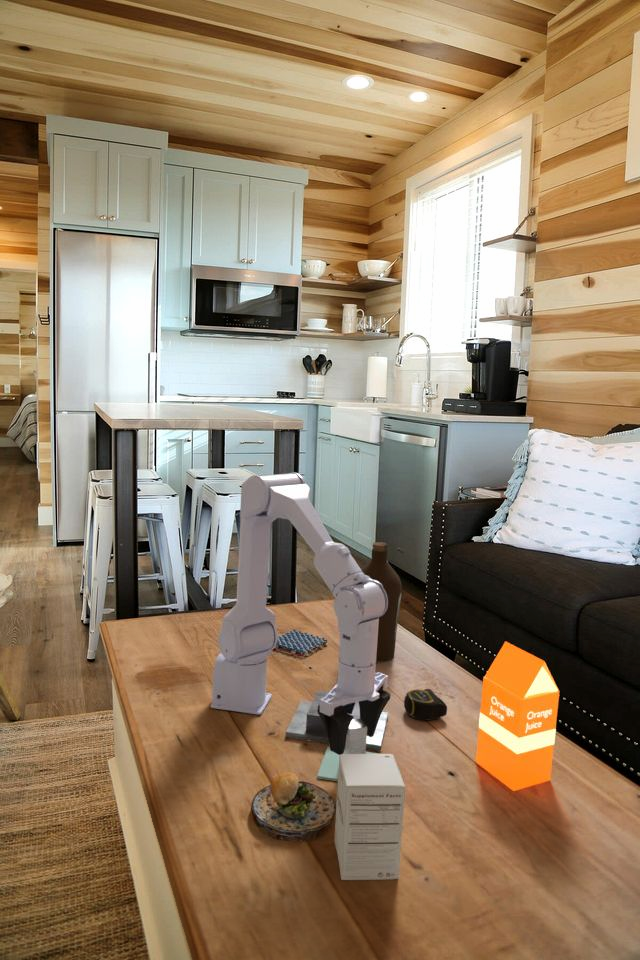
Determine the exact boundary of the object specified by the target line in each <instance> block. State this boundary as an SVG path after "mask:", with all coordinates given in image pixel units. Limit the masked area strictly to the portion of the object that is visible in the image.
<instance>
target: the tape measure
mask: <svg viewBox="0 0 640 960" xmlns="http://www.w3.org/2000/svg"><path fill="white" fill-rule="evenodd" d="M403 706H404V710H405V712H406V713H407V714H408V715H410V716H411V717H413V718H415V719H418V720H425V721H426V720H427V721H429V720H430V721H431V720H434V719H437V718H442V717H444V716H446V714H447V711H448V706H447V704H446V703H445V702H444V701H443V700H442V699H441V698H440V697H438V695H436V694H435V692H433V691H432V690H431V688H425V689H418V688H417V689H412V690H410V691H408V692H407V693H406V694H405V696H404V702H403Z"/></svg>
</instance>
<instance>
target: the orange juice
mask: <svg viewBox="0 0 640 960" xmlns="http://www.w3.org/2000/svg"><path fill="white" fill-rule="evenodd" d="M495 656H496V657H495V658H494V660H493V662H492V663H491V664H490V667H489V669H488V670H487V671H486V674H485V675H484V676H483V677H482V678H483V679H482V690H481V703H480V711H479V717H478V718H479V720H478V735H477V745H476V747H477V748H476V756H475V757H476V758H475V763H476V764H477V765H479V766H480V767H481V768H483V770H485V771H487V772H488V773H489V774H491V775H492V776H493V777H494V778H496V779H497V780H499V782H501V783H502V784H504V785H505V786H506V787H507V788H508V789H510V790H511V791H513V792H515V791H518V790H521V789H525V788H530V787H532V786H536V785H539V784H542V783H546V782H549V781H551V776H552V775H551V774H552V767H553V766H552V765H553V756H554V747H555V741H556V731H557V729H556V728H557V717H558V709H559V701H560V700H559V699H560V690H559V688H558V686H557V684H556V682H555V680H554V677H553V675H552V674H551V671H550V670H549V668H548V666H547V663H546V662H545V660H543V659H541V658H539V657H537V656H535V655H534V654H532V653H529V652H527V651H526V650H523V649H521V648H520V647H517V646H515V645H514V644H511V643H510V642H508V641H504V643H503V645H502V647H501V648H500V650H499V652H498V653H497V655H495Z"/></svg>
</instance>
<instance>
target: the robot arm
mask: <svg viewBox="0 0 640 960" xmlns="http://www.w3.org/2000/svg"><path fill="white" fill-rule="evenodd" d="M240 492H241V493H240V509H239V510H240V512H239V516H240V517H239V518H240V520H239V521H240V525H239V526H240V527H239V543H238V544H239V547H238V565H237V580H236V581H237V584H236V585H237V586H236V602H235V605H234V606H233V607H232V608H231V609H230V610H229V611H227V612H226V613H225V615H224V616H223V617H222V619H221V620H222V623H221V628H220V630H219V632H218V637H217V644H218V649H219V651H220V653H219V654H218V655H217V657H216V658H215V661H214V663H213V664H214V666H213V671H212V690H211V692H212V694H211V697H212V698H211V704H210V708H211V709H218V710H223V711H231V712H239V713H245V714H251V715H259V716H260V715H261V714H262V713H263V712H264V710H265V708H266V707H267V705H268V704H269V702H270V701H271V699H272V697H273V694H272V693H271V692H270V693H268V692H267V691H266V690H267V672H268V671H267V669H268V668H267V667H268V658H269V657H271V653H272V651H273V650H275V649H274V648H275V646H277V645H276V644H277V640H278V637H279V633H278V630H277V629H278V628H277V626H276V614H275V613H274V612H273V611H272V610H271V609H270V608H268V607H267V595H268V579H269V563H270V562H269V561H270V560H269V559H270V545H271V530H272V527H271V526H272V523H273V522H274V521H276V520H277V519H278V518H279V519H283V520H288V521H289V522H290V523H291V524H292V525H293V527H294V528H295V530H297V532H298V533H299V535H300V536H301V537H302V539H303V540H304V541H305V543H307V545H308V546H309V548H310V549H311V551H313V552H314V559H313V565H314V567H315V569H316V571H317V572H318V573H319V575H320V576H321V578H322V580H323V581H324V583H325V584H326V586H327V588H328V590H329V591H330V592H331V593H332V595H333V597H334V598H335V599H334V600H333V602H332V603H333V604H332V606H333V610H334V614H335V616H336V618H337V628H338V632H339V650H338V664H337V665H338V667H337V683H336V684H335V685H334V687H332V689H331V690H330V691H328V692H329V693H328V695H327V696H326V697H324V698H323V699H321V700H320V705H318V711H317V712H318V714H319V716H320V717H321V719H322V721H323V724H324V726H325V729H326V732H327V736H328V740H329V744H328V745H329V746H330V750H331V751H332V752H334V753H336V754H338V755H340V754H343V753H344V750H345V744H346V737H347V732H348V729H349V726H350V723H351V721H352V719H353V718H354V717H353V716H352V715H349V714H347V713H345V710H343V706H345V705H347V704H350V703H354V702H359V708H360V719H361V720H362V721H363V722H364V724H365V725H366V726H367V736H369V737H373V735H374V733H375V730H376V727H377V724H378V721H379V718H380V715H381V713H382V712H384V710H385V707H386V705H387V704H388V702H390V700H391V693H390V692H388V691H387V690H384V689H385V688H388V686H389V685H388V684H389V682H388V681H389V675H387V674H384V673H382V672H379V671H378V672H376V667H377V666H376V665H377V662H376V654H377V639H378V625H379V618H378V617H380V616H382V615H384V613H385V612H386V610H387V607H388V597H387V594H386V591H385V590H384V588H383V585H382V584H381V583H380V582H378V581H376V580H373V579H371V578H370V577H369V576H367V575H364V573H363V572H362V570H361V569H362V568H360V566H359V564H358V563H357V561H356V559H354V557H353V556H352V554H351V550H349V549H350V548H348V547H347V546H346V545H345V544H343V543H339V542H335V541H333V539H332V537H331V536H330V535H331V534H330V533H329V532H328V530H327V528H326V527H325V525H324V523H323V521H322V519H321V517H320V516H319V514H318V512H317V510H316V509H315V507H314V505H313V504H312V502H311V488H310V486H309V485H308V484H307V483H306V480H305V478H304V477H303V476H302V475H301V474H300V473H298V472H295V471H293V472H289V473H280V474H279V473H278V474H266V475H265V474H264V475H259V474H257V475H255V474H254V475H251V476H250V477H248V478H247V479H246V480H245V481H244V482H243V483H241V489H240ZM376 618H377V619H376Z"/></svg>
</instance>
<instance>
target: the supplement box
mask: <svg viewBox="0 0 640 960" xmlns="http://www.w3.org/2000/svg"><path fill="white" fill-rule="evenodd" d="M405 790H406V784H405V782H404V780H403V777H402V774H401V771H400V768H399V766H398V764H397V760H396V757H395V755H394V754H392V753H378V754H340V755H339V773H338V781H337V792H336V804H335V806H336V811H335V822H334V823H335V825H334V845H335V849H336V854H337V859H338V867H339V874H340V879H341V880H342V881H367V880H368V881H370V880H371V881H376V880H378V881H380V880H397V879H399V877H400V862H401V861H400V860H401V846H402V837H403V835H402V834H403V821H404V808H405V799H406V798H405V795H406V793H405V792H406V791H405Z"/></svg>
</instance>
